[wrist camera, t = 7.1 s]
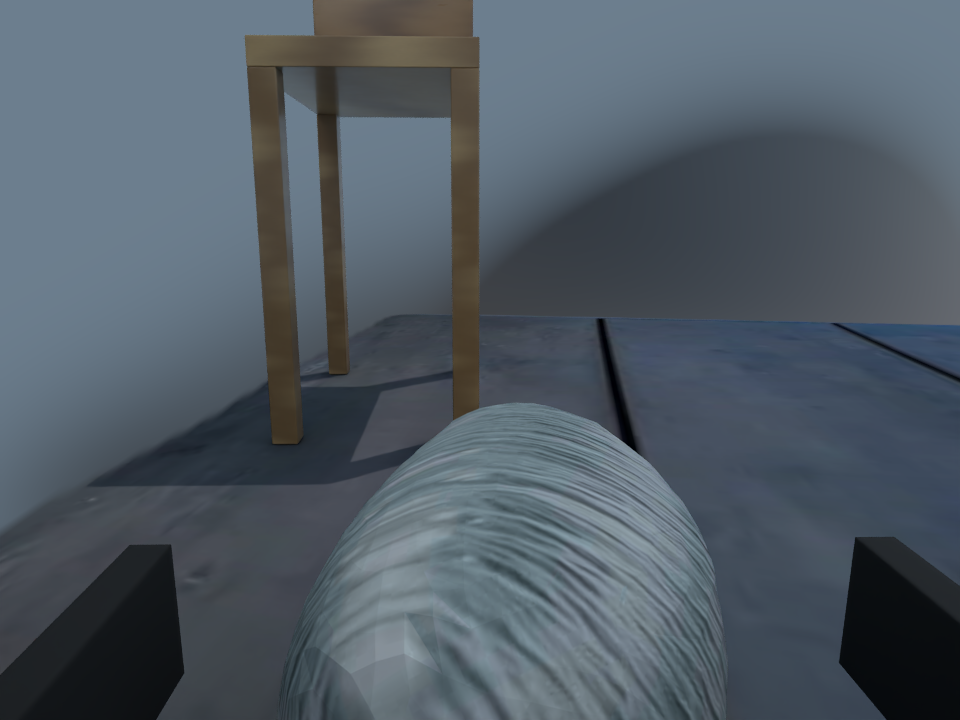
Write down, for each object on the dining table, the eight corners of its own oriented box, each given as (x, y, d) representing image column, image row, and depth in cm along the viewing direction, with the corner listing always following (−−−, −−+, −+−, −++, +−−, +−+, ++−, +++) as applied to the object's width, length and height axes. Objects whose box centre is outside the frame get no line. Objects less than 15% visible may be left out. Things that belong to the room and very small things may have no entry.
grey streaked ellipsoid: (449, 605, 25) (293, 394, 21) (696, 508, 23) (575, 256, 19) (418, 1166, 13) (29, 910, 9) (942, 1063, 11) (743, 673, 7)
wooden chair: (271, 444, 39) (204, -561, 30) (332, 370, 58) (303, -262, 48) (478, 442, 40) (480, -551, 30) (473, 369, 58) (472, -259, 48)
